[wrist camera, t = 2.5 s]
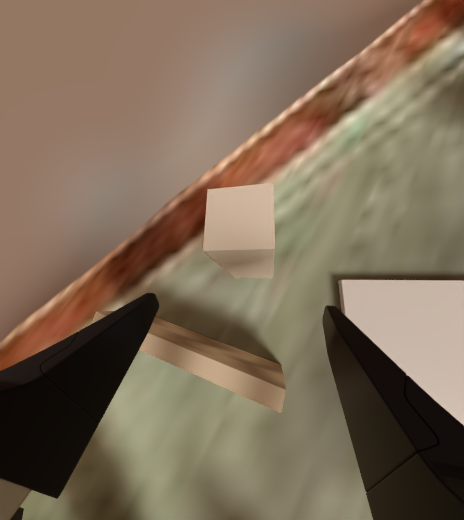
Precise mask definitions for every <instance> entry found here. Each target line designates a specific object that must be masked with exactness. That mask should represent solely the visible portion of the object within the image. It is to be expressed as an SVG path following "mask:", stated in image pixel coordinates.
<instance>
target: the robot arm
mask: <svg viewBox="0 0 464 520" xmlns="http://www.w3.org/2000/svg"><path fill="white" fill-rule="evenodd" d="M158 309H159V303H158V300H157V297H156V295H155V294H154V293H146V294H145V295H143V296H141V297H139V298H137V299H136V300H134V301H132V302H130V303H128V304H127V305H125V306H123V307H121V308H119V309H118V310H116V311H114V312H112V313H111V314H109V315H107V316H105V317H103V318H102V319H100V320H98V321H96V322H94V323H93V324H91V325H89V326H87V327H85V328H84V329H82V330H80V331H79V332H76V333H75V334H73V335H71V336H69V337H67V338H66V339H64V340H62V341H60V342H58V343H56V344H54V345H52V346H50V347H48V348H47V349H45V350H43V351H41V352H39V353H37V354H35V355H33V356H31V357H29V358H27V359H25V360H23V361H21V362H19V363H17V364H15V365H13V366H11V367H9V368H6V369H4V370H2V371H0V520H22V515H23V511H24V509H23V508H21V507H20V505H21V504H22V503H23V501H24V500H25V498H26V497H27V496H28V494H29V493H30V491H31V490H34V491H37V492H39V493H42V494H45V495H48V496H51V497H54V498H56V499H57V498H58V497H59V496H60V494H61V492H62V491H63V489H64V487H65V485H66V483H67V482H68V480H69V478H70V476H71V474H72V472H73V471H74V469H75V467H76V465H77V463H78V461H79V459H80V458H81V456H82V454H83V452H84V450H85V448H86V447H87V445H88V443H89V441H90V439H91V437H92V435H93V434H94V432H95V430H96V428H97V426H98V424H99V422H100V421H101V419H102V417H103V415H104V413H105V411H106V409H107V408H108V406H109V404H110V402H111V400H112V398H113V397H114V395H115V393H116V391H117V389H118V387H119V386H120V384H121V382H122V380H123V378H124V376H125V374H126V373H127V371H128V369H129V367H130V365H131V363H132V362H133V360H134V358H135V356H136V354H137V352H138V351H139V349H140V347H141V345H142V343H143V341H144V340H145V338H146V336H147V334H148V332H149V330H150V327H151V325H152V323H153V320H154V318H155V316H156V313H157V311H158ZM323 328H324V334H325V341H326V347H327V353H328V357H329V361H330V365H331V368H332V372H333V376H334V379H335V383H336V386H337V390H338V394H339V397H340V401H341V404H342V408H343V412H344V415H345V419H346V422H347V426H348V430H349V433H350V437H351V441H352V444H353V448H354V451H355V455H356V459H357V462H358V466H359V469H360V473H361V477H362V480H363V484H364V487H365V491H366V492H367V493H366V495H367V499H368V502H369V506H370V509H371V513H372V517H373V520H464V425H463V424H462V423H460V422H459V421H458V420H457V419H456V418H455V417H453V416H452V415H451V414H450V413H449V412H448V411H447V410H445V409H444V408H443V407H442V406H441V405H440V404H439V403H437V402H436V401H435V400H434V399H433V398H432V397H431V396H430V395H429V394H428V393H426V392H425V391H424V390H423V389H422V388H421V387H420V386H419V385H418V384H417V383H416V382H415V381H414V380H413V379H412V378H411V377H409V376H408V375H407V376H406V373H405V372H404V371H403V370H402V369H401V368H400V367H399V366H398V365H397V364H396V363H395V362H394V361H393V360H392V359H391V358H389V357H388V356H387V355H386V354H385V353H384V352H383V351H382V350H381V349H380V348H379V347H378V346H377V345H376V344H375V343H374V342H373V341H372V340H371V339H370V338H369V337H367V336H366V335H365V334H364V333H363V332H362V331H361V330H360V329H359V328H358V327H357V326H356V325H355V324H354V323H353V322H352V321H351V320H350V319H349V318H348V317H347V316H345V315H344V314H343V313H342V312H341V311H340V310H339V309H338V308H337V307H336V306H328V305H327V306H326V307H325V310H324V314H323Z"/></svg>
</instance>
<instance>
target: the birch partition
mask: <svg viewBox="0 0 464 520" xmlns="http://www.w3.org/2000/svg"><path fill="white" fill-rule="evenodd" d="M112 312H114V311H103V312H96V314H95V316H94V318H93V321H92V323H91V324H93V323H94V322H96V321H98V320H100V319H102V318H103V317H105V316H107V315H109V314H111V313H112ZM139 350H141V351H143V352H146V353H148V354H150V355H152V356H155V357H157V358H159V359H161V360H164V361H166V362H168V363H170V364H173V365H175V366H177V367H179V368H181V369H184V370H186V371H188V372H190V373H193V374H195V375H197V376H199V377H202V378H204V379H206V380H208V381H210V382H213V383H215V384H217V385H219V386H222V387H224V388H226V389H228V390H231V391H233V392H235V393H237V394H239V395H242V396H244V397H246V398H248V399H251V400H253V401H255V402H257V403H260V404H262V405H264V406H266V407H268V408H271V409H273V410H275V411H277V412H280V413H281V411H282V406H283V402H284V397H285V392H286V387H285V382H284V376H283V371H282V366H281V365H280V364H277V363H275V362H272V361H269V360H267V359H264V358H262V357H259V356H256V355H254V354H251V353H248V352H246V351H243V350H241V349H238V348H235V347H233V346H230V345H227V344H225V343H222V342H219V341H217V340H214V339H212V338H209V337H206V336H204V335H201V334H198V333H196V332H193V331H191V330H188V329H185V328H183V327H180V326H177V325H175V324H172V323H170V322H167V321H164V320H162V319H159V318H156V317H155V318H154V320H153V323H152V325H151V327H150V330H149V332H148V334H147V336H146V338H145V340H144V341H143V343H142V345H141V347H140V349H139Z"/></svg>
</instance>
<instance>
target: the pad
mask: <svg viewBox="0 0 464 520" xmlns="http://www.w3.org/2000/svg"><path fill="white" fill-rule="evenodd" d="M338 285H339V294H340V303H341V312H342V313H343V314H344V315H345V316H347V317H348V318H349V319H350V320H351V321H352V322H353V323H354V324H355V325H356V326H357V327H358V328H359V329H360V330H361V331H362V332H363V333H364V334H365V335H366V336H367V337H369V338H370V339H371V340H372V341H373V342H374V343H375V344H376V345H377V346H378V347H379V348H380V349H381V350H382V351H383V352H384V353H385V354H386V355H387V356H388V357H389V358H391V359H392V360H393V361H394V362H395V363H396V364H397V365H398V366H399V367H400V368H401V369H402V370H403V371H404V372H405V373H406V376H407V375H408V376H409V377H411V378H412V379H413V380H414V381H415V382H416V383H417V384H418V385H419V386H420V387H421V388H422V389H423V390H424V391H425V392H426V393H428V394H429V395H430V396H431V397H432V398H433V399H434V400H435V401H436V402H437V403H439V404H440V405H441V406H442V407H443V408H444V409H445V410H447V411H448V412H449V413H450V414H451V415H452V416H453V417H455V418H456V419H457V420H458V421H459V422H460V423H462V424H463V425H464V281H459V280H340V281H338Z"/></svg>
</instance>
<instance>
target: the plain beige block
mask: <svg viewBox="0 0 464 520" xmlns="http://www.w3.org/2000/svg"><path fill="white" fill-rule="evenodd" d="M203 251H204V252H205V253H206V254H207V255H208V256H210V257H211V258H212V259H213V260H214V261H215V262H217V263H218V264H219V265H220V266H221V267H223V268H224V269H225V270H226V271H227V272H228V273H230V274H231V275H232V276H233V277H234V278H273V268H274V254H275V232H274V189H273V183H269V184H258V185H248V186H238V187H228V188H217V189H208V191H207V204H206V217H205V229H204V242H203Z"/></svg>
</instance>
